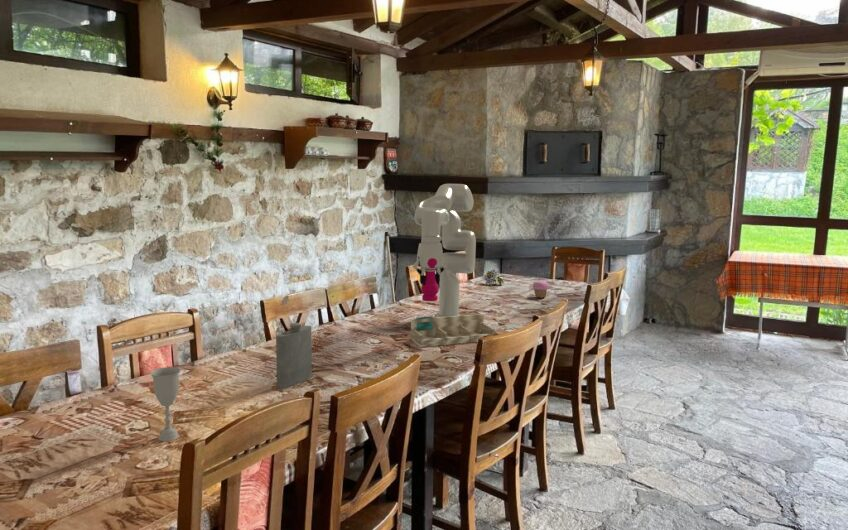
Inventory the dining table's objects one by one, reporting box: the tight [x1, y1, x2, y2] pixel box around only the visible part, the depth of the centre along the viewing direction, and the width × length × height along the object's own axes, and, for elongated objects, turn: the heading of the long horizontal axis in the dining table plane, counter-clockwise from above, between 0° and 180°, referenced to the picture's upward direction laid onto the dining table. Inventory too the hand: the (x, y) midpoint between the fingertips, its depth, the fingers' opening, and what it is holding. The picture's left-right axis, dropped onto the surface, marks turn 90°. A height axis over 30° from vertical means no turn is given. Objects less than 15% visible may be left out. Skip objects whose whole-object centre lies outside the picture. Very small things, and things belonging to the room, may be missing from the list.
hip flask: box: [275, 322, 313, 390], centre depth 210 cm, size 16×4×20 cm, turn 151°
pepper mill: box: [420, 258, 440, 302], centre depth 258 cm, size 7×7×20 cm
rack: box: [410, 313, 496, 348], centre depth 265 cm, size 33×12×9 cm, turn 111°
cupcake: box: [532, 279, 550, 299], centre depth 357 cm, size 9×9×10 cm
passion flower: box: [481, 268, 505, 286], centre depth 395 cm, size 11×11×12 cm
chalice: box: [150, 366, 181, 442], centre depth 166 cm, size 7×7×18 cm
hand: (429, 283), depth 258 cm, fingers closed on pepper mill, 5 cm apart
